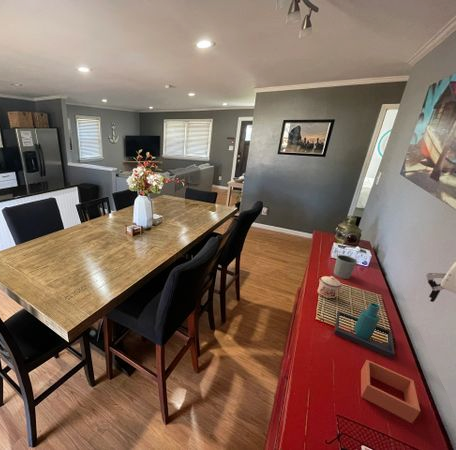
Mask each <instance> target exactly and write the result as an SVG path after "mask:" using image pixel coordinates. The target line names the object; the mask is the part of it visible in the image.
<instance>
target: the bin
mask: <svg viewBox="0 0 456 450" xmlns="http://www.w3.org/2000/svg"><path fill="white" fill-rule="evenodd" d="M371 378H373V379H375V380H377V381H379V382H381V383H383V384H385V385H387V386H389V387H391V388H394V389H396V390H398V391H399V392H402V393H403V398H404V400H403V399H401V398H398V397H396V396H394V395H392V394H390V393H388V392H385V391H384V390H382V389H380V388H377V387H376V386H373V385H371ZM360 397H361V398H362V399H364V400H367V401H368V402H370V403H372V404H374V405H376V406H378V407H379V408H381V409H384V410H385V411H388V412H389V413H391V414H393V415H395V416H397V417H399V418H401V419H403V420H405V421H406V422H408V423H410V424H413V423H414V422H415V420H416V419H417V417H418V416H419V415H420V413H421V408H420V402H419V399H418V395H417V389H416V385H415V381H414V380H413V379H412V378H410V377H407V376H404V375H403V374H401V373H398V372H396V371H393V370H392V369H390V368H387V367H384V366H382V365H380V364H377V363H376V362H373V361H371V360H368V359H366V360H365V362H364V364H363V366H362V368H361V369H360Z"/></svg>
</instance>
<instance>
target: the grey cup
mask: <svg viewBox="0 0 456 450" xmlns="http://www.w3.org/2000/svg"><path fill="white" fill-rule="evenodd" d="M335 259H336V260H335V265H334V269H333V275H334V276H335V277H337V278H340V279H343V280H348V279H350V278H351V276H352V274H353V272H354V269H355V268H356V266H357V263H358V260H357V259H356V258H355V257H352V256H349V255H345V254H337V256H336V258H335Z"/></svg>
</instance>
